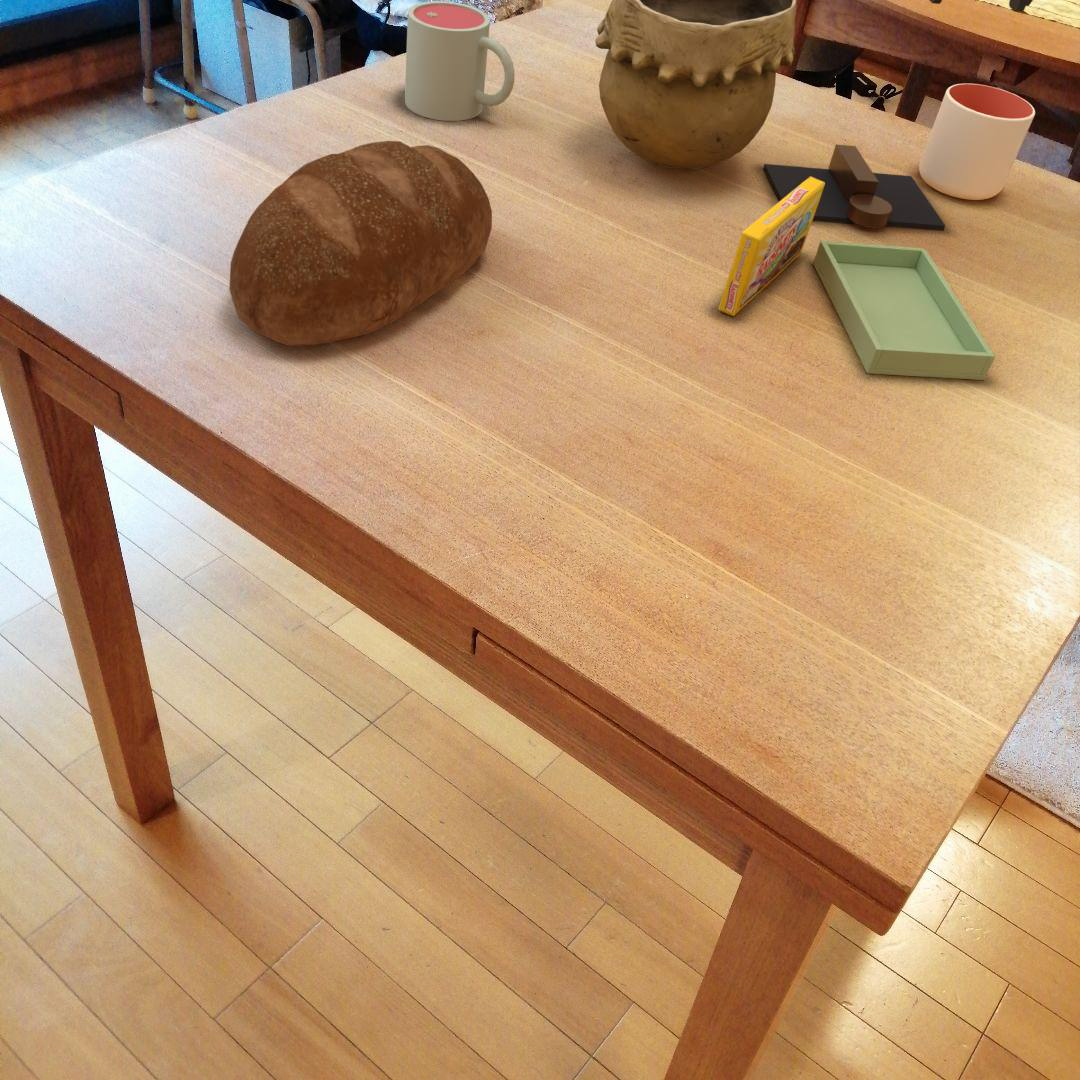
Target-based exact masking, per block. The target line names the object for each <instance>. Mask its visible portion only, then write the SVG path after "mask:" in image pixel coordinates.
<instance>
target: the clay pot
mask: <svg viewBox="0 0 1080 1080" xmlns="http://www.w3.org/2000/svg"><path fill="white" fill-rule="evenodd" d="M796 14H797V0H611V2H610V4H609V6H608V9H607V10H606V13H605V15H604V18H602V20H601V22H600V23H599V24H598V26H597V29H596V31H597V36H596V37H595V41H594V42H595V47H596V48H598V49H600V50H602V49H603V50H607V52H606V55H605V59H604V62H603V65H602V69H601V73H600V78H599V82H598V90H599V100H600V103H601V106H602V109H603V112H604V115H605V117H606V119H607V122H608V123H609V126H610V127H611V130H612V131H613V133H614V134H615V136H616V137H617V138H618V140H619V141H620V142H621V143H622V144H623V145H624V146H625V148H627V149H629V150H630V151H631V152H632V153H634V154H635V155H637V156H639V157H640V158H643V159H644V160H646V161H648V162H650V163H652V164H653V165H657V166H660V167H664V168H667V169H668V168H669V169H679V170H697V169H703V168H708V167H712V166H716V165H718V164H721V163H724V162H725V161H727V160H729V159H731V158H732V157H734V156H736V155H737V154H739V153H741V152H742V151H743V150H744V149H746V147H747V146H748V145H749V144H750V143H751V142H752V141H753V140H754V139H755V137H756V136H757V135H758V133H759V132H760V130H761V129H762V128H763V126H764V124H765V123H766V120H767V118H768V115H769V114H770V111H771V109H772V105H773V102H774V96H775V89H776V81H777V79H776V78H777V73H778V71H780V66H785V67H792V65H793V61H794V57H795V54H796V53H795V47H794V46H795V45H794V39H795V29H796V16H797V15H796Z"/></svg>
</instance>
